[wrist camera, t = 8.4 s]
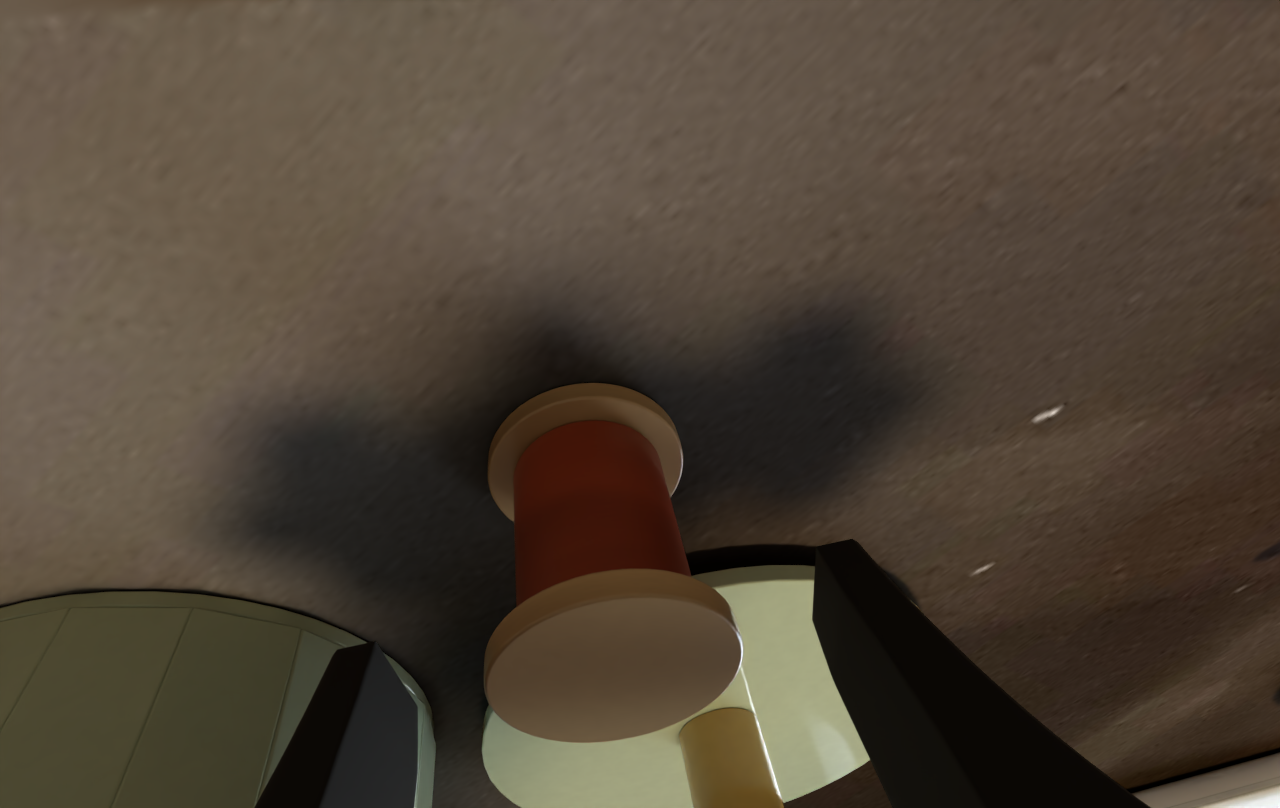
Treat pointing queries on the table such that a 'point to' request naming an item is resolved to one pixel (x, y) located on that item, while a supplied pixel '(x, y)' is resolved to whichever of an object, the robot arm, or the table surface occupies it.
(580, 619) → the spool
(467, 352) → the table surface
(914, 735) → the robot arm
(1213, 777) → the hard drive
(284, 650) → the tin
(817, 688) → the lid
